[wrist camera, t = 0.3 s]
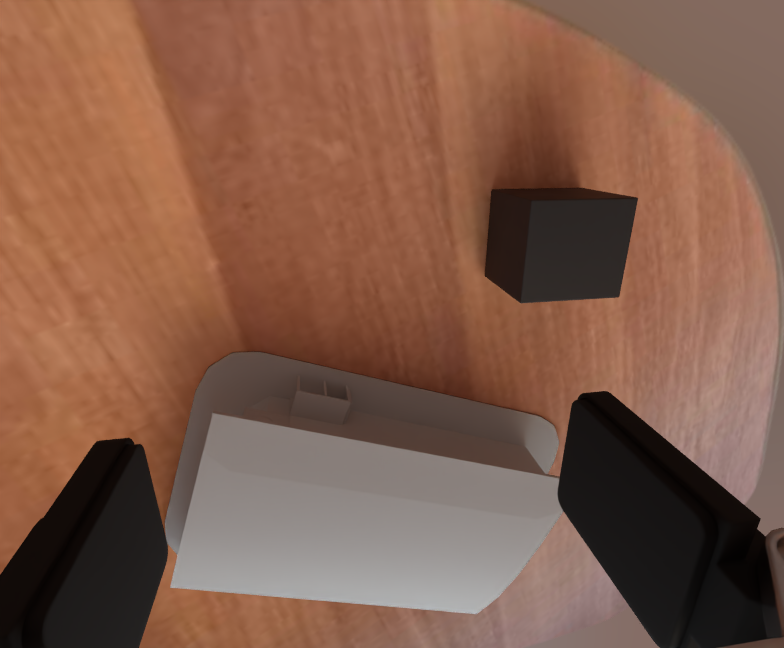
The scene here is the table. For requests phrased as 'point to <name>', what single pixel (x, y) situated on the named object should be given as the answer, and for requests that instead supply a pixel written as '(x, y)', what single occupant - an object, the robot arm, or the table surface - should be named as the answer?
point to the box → (558, 243)
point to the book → (355, 489)
